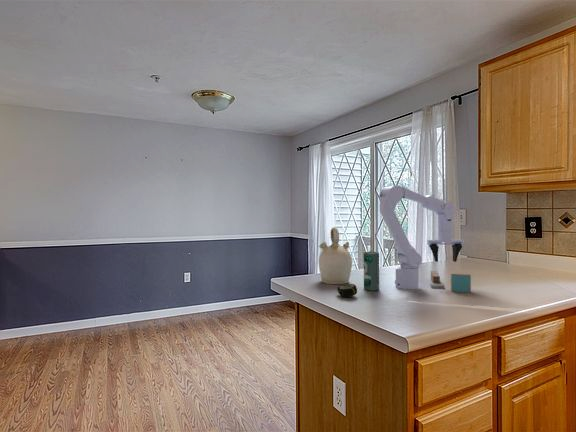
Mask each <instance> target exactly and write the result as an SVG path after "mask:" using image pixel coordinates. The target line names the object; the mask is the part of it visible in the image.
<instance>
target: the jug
mask: <svg viewBox="0 0 576 432" xmlns="http://www.w3.org/2000/svg"><path fill="white" fill-rule="evenodd" d="M330 241H331V245H329V246H328V245H327V242H326V241H323V242H321V243H320V245H319V246H318V247H319V248H320V249H321V251H320V254H319V256H318V268H319V272H320V277H321V282H322V283H324V284H327V285H346V284H349V282H350V277H351V273H352V268H353V257H352V254H351V253H350V251H349V248H350V242H349V241H346V242H345V243H343V245H341V244H339V242H340V233H339V229H338V228H337V227H335V226H334V227H331V229H330Z"/></svg>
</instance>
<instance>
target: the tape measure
mask: <svg viewBox="0 0 576 432" xmlns="http://www.w3.org/2000/svg"><path fill="white" fill-rule="evenodd" d="M337 292H338V294H339V295H340V297H343V298H350V297H353V296H355V295H357V294H358V289H357V285H356V284H354V283H346V284H342V285H340V286H337Z"/></svg>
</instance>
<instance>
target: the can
mask: <svg viewBox="0 0 576 432" xmlns="http://www.w3.org/2000/svg"><path fill="white" fill-rule="evenodd" d="M362 253H363V289H364V290H365V291H374V292H375V291H379V290H380V253H379V251H378V252H377V251H364V252H362Z"/></svg>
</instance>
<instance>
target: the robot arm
mask: <svg viewBox="0 0 576 432" xmlns="http://www.w3.org/2000/svg"><path fill="white" fill-rule="evenodd" d="M378 198H379V213H380V214H381V217H382V219H383V221H384V223H385V224H386V227H387V230H388V231H389V233H390V236H391V238H392V240H393V242H394V244H395V246H396V255H397V261H398V263H399V264H400V265H399V266H396V267H395V280H394V285H395V289H406V290H408V289H409V290H420V285H419V284H420V283H419V268H420V265H421V264H422V261H423V259H422V255H421V254H420V253H418V252H417V250H416V248H415V247H414V246H413V245H411V243H410V242H409V239H408V236H407V234H406V233H405V230H404V228H403V226H402V225H401V222H400V221H399V218H398V215H397V214H396V212H395V210H396V207H397V205H398V204H399V203H400V202H401V200H402V199H407V200H410V201H413V202H416V203H419V204H421V206H422V208H424V209H426V210H429V211H431V212H434V213H435V214H437V239H426V242H427V243H426V244H427V245H428V246H429V248H430V250H431V253H432V256H433V259H434V262H437V263H438V262H439V248H440V247H439V245H441V246H442V245H451V249H452V262H454V263H455V262H457V261H458V257H459V254H460V252H461V251H462V249H463V245H465V241H464V239H453V238H454V236H453V235H454V234H453V232H454V231H453V229H454V228H453V227H454V225H453V223H454V222H453V219H454V214H455V213H456V211H457V208H456V206H455V205H454V203H452V202H451V201H445V199H443V198H438V197H435V194H428V195H423V194H420V193H419V192H415V191H413V190H412V189H409V188H407V187H405V186H400V185H397V184H396V185H393V186H384V187H383V188H382V189H381V190H380V193H379V194H378Z"/></svg>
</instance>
